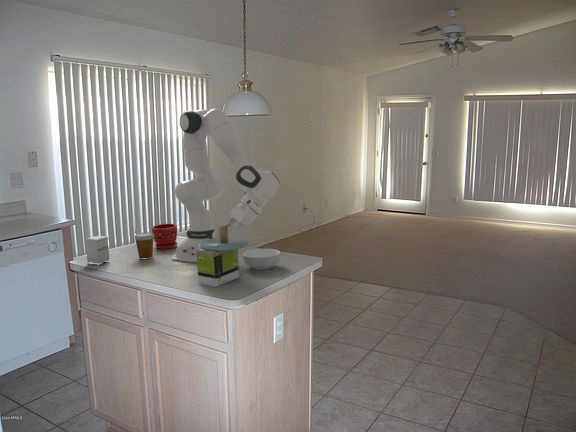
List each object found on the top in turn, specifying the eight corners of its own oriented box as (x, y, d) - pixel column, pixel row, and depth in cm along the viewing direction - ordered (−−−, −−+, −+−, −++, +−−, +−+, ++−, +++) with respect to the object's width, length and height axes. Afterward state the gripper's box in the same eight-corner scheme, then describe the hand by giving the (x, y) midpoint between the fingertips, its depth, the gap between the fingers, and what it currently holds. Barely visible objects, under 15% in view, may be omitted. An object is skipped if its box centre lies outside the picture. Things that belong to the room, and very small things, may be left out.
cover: (193, 250, 196) (192, 230, 195) (208, 239, 216) (207, 221, 214) (241, 251, 193) (241, 231, 192) (253, 239, 213) (252, 221, 211)
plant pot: (159, 244, 274) (158, 223, 271) (182, 244, 271) (180, 223, 269) (148, 249, 261) (147, 227, 259) (171, 250, 258) (170, 228, 256)
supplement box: (98, 265, 232) (95, 239, 230) (87, 264, 236) (84, 238, 233) (110, 261, 239) (108, 236, 237) (99, 260, 242) (97, 235, 240)
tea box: (222, 274, 214) (220, 241, 211) (240, 278, 208) (238, 244, 205) (197, 283, 201) (195, 248, 199) (215, 287, 196) (213, 251, 193)
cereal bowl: (272, 260, 233) (272, 246, 232) (286, 269, 218) (285, 254, 217) (238, 265, 227) (238, 250, 226) (249, 275, 212) (249, 259, 211)
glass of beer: (158, 255, 248) (157, 232, 246) (150, 260, 239) (148, 236, 237) (141, 255, 250) (139, 232, 248) (132, 260, 241) (130, 236, 239)
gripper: (239, 196, 215) (218, 220, 213) (252, 202, 196) (229, 229, 194) (249, 206, 217) (228, 229, 216) (263, 213, 198) (241, 239, 197)
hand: (229, 229), depth 205 cm, fingers open, 8 cm apart
